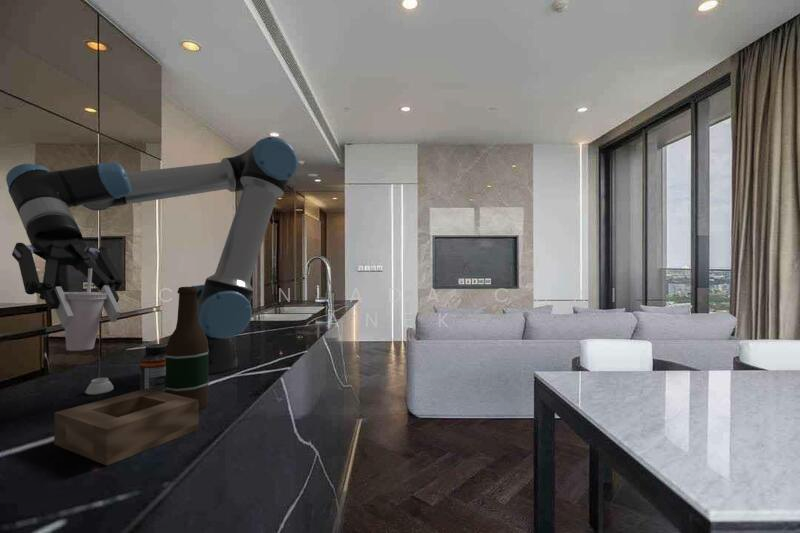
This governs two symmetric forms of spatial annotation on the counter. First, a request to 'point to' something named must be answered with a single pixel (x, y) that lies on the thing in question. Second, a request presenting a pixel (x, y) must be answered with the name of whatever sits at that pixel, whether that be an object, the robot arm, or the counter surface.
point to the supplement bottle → (153, 368)
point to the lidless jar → (99, 386)
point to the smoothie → (84, 317)
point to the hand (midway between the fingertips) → (93, 318)
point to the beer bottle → (188, 352)
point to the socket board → (125, 424)
